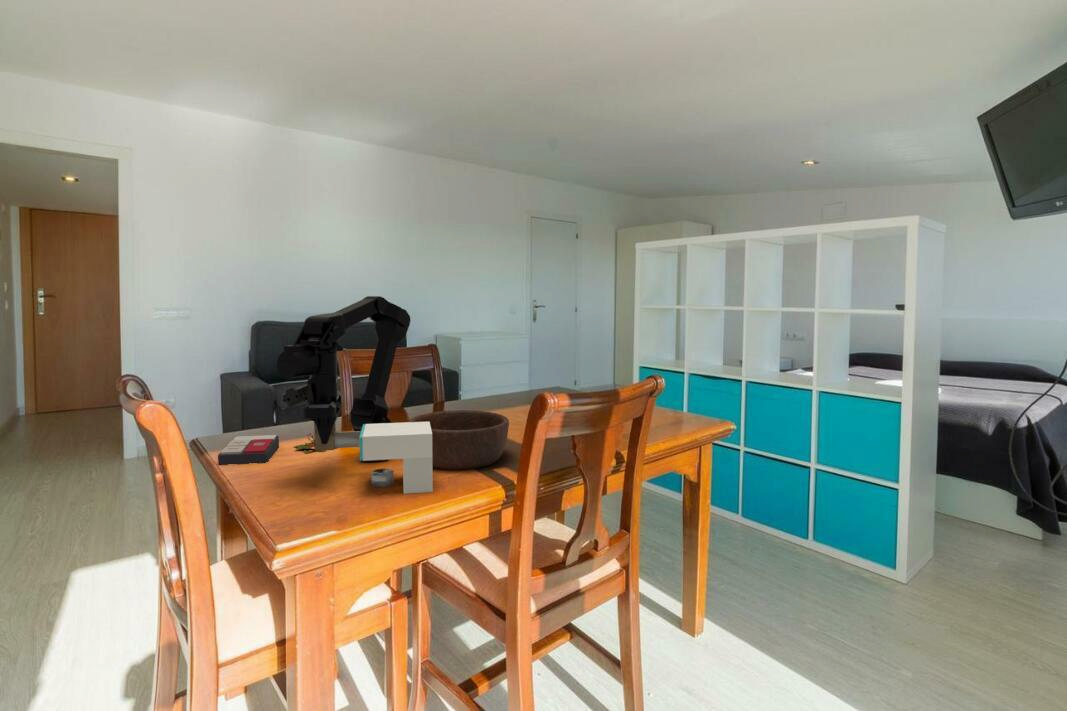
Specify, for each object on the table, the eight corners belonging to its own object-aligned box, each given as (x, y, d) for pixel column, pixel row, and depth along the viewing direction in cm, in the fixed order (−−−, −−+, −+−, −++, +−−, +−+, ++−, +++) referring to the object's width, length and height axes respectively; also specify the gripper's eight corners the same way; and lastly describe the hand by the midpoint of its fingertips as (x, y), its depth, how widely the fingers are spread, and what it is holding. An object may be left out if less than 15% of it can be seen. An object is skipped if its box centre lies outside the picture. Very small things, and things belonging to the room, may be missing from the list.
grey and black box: (217, 452, 139) (234, 434, 154) (218, 469, 140) (235, 450, 154) (266, 450, 142) (278, 432, 156) (267, 466, 142) (279, 448, 157)
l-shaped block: (364, 478, 131) (363, 423, 130) (429, 474, 134) (429, 421, 133) (360, 496, 119) (359, 436, 118) (432, 492, 122) (432, 433, 121)
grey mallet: (317, 446, 132) (316, 416, 132) (394, 442, 136) (393, 413, 135) (315, 450, 128) (314, 419, 128) (394, 446, 132) (393, 416, 132)
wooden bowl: (521, 450, 156) (521, 413, 155) (489, 478, 132) (489, 434, 131) (435, 443, 163) (435, 407, 162) (390, 468, 139) (389, 426, 138)
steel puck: (371, 481, 129) (371, 469, 129) (393, 480, 130) (393, 468, 130) (370, 488, 125) (370, 475, 124) (393, 487, 126) (393, 474, 125)
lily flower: (328, 441, 165) (328, 425, 165) (346, 450, 156) (346, 433, 156) (285, 448, 157) (284, 432, 157) (301, 458, 148) (301, 440, 148)
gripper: (292, 368, 136) (294, 433, 138) (275, 379, 118) (278, 454, 120) (342, 367, 139) (343, 431, 140) (333, 378, 121) (335, 451, 122)
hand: (325, 441), depth 131 cm, fingers closed on grey mallet, 4 cm apart
